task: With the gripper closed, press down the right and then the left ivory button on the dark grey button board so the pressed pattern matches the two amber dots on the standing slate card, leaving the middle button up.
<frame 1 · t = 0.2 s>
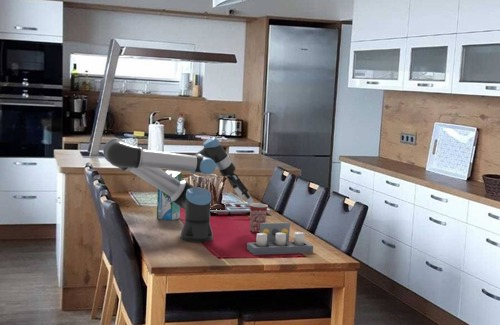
hand: (247, 200, 333), 15 cm above the table, tool tilted 35°, fingers open, 13 cm apart
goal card: (273, 249, 303), on the table
maze game: (235, 212, 383), on the table
button left: (261, 239, 292), point 6 cm above the table, slide at 0.0 cm
button board: (279, 253, 296), on the table
button middle: (280, 239, 295), point 6 cm above the table, slide at 0.0 cm
button right: (299, 238, 299), point 6 cm above the table, slide at 0.0 cm
mug: (256, 231, 337), on the table
milk carton: (168, 218, 354), on the table
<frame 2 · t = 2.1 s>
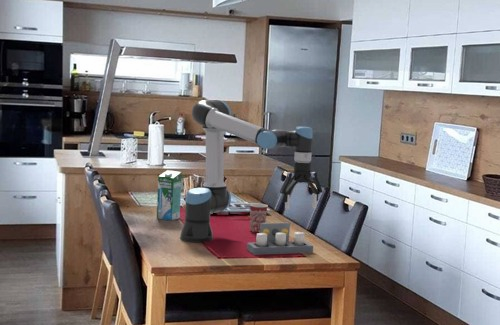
hand: (300, 208, 299), 19 cm above the table, tool pointing down, fingers open, 13 cm apart
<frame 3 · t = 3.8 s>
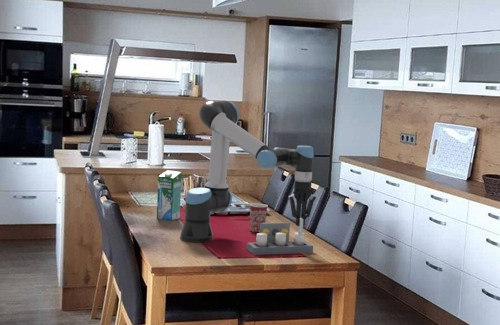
hand: (299, 232, 298), 9 cm above the table, tool pointing down, fingers closed
button right: (299, 238, 299), point 6 cm above the table, slide at 0.1 cm, touching gripper
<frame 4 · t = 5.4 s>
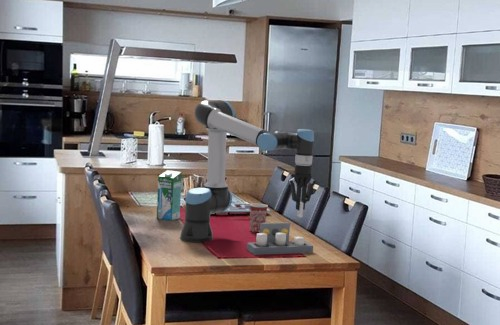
hand: (299, 216, 297), 16 cm above the table, tool pointing down, fingers closed
button right: (298, 243, 299), point 4 cm above the table, slide at 2.1 cm
everything else where it was.
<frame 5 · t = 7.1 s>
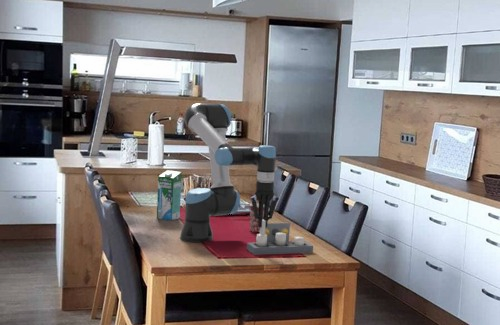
hand: (262, 234, 292), 9 cm above the table, tool pointing down, fingers closed
button left: (261, 240, 292), point 6 cm above the table, slide at 0.4 cm, touching gripper
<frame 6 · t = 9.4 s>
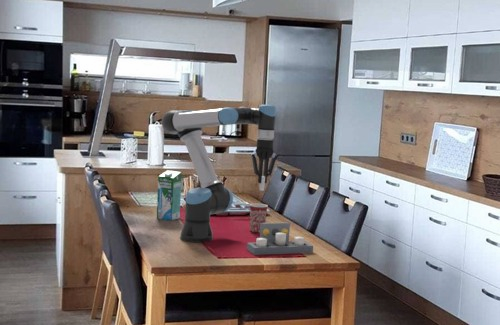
hand: (261, 190, 305), 26 cm above the table, tool pointing down, fingers closed
button left: (261, 244, 293), point 4 cm above the table, slide at 2.2 cm
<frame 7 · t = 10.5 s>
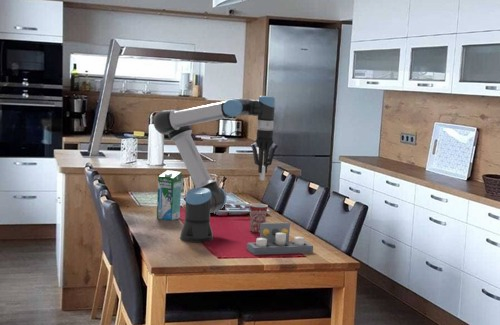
hand: (262, 179, 312), 29 cm above the table, tool pointing down, fingers closed
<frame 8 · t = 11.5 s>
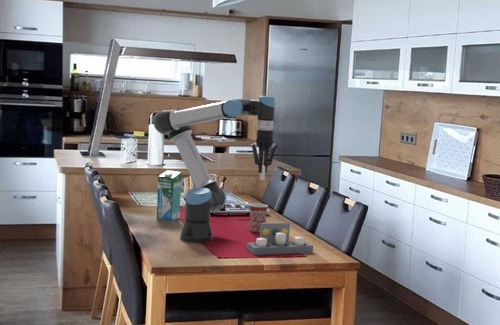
hand: (262, 179, 312), 29 cm above the table, tool pointing down, fingers closed
at the end: button right slide at 2.1 cm; button left slide at 2.2 cm; button middle slide at 0.0 cm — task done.
